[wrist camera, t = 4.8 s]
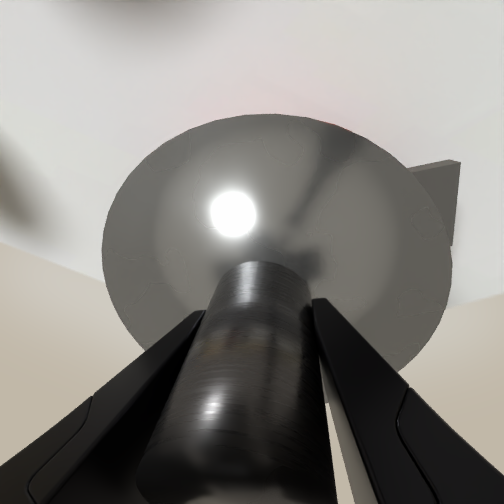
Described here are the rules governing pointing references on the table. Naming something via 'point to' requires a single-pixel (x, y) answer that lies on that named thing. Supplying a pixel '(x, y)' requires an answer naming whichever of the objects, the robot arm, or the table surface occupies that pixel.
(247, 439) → the lid
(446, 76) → the table surface
